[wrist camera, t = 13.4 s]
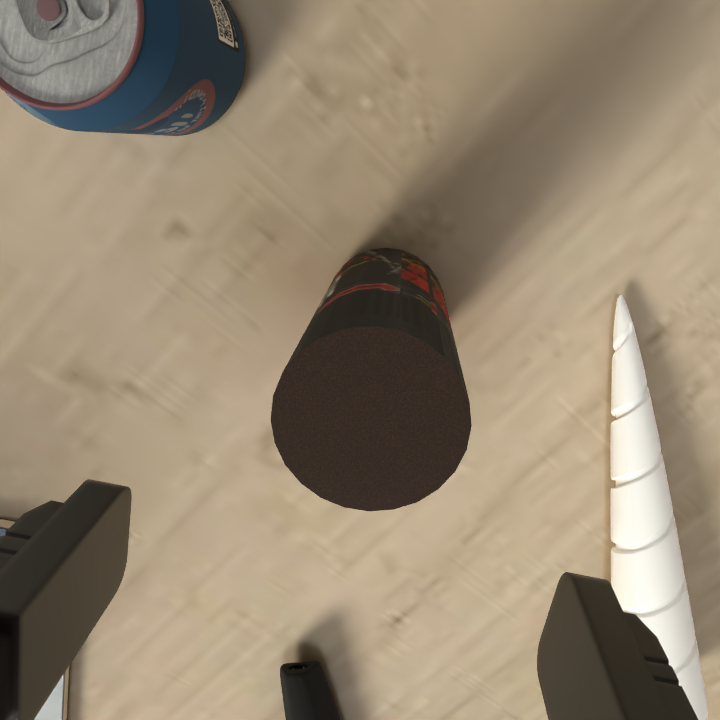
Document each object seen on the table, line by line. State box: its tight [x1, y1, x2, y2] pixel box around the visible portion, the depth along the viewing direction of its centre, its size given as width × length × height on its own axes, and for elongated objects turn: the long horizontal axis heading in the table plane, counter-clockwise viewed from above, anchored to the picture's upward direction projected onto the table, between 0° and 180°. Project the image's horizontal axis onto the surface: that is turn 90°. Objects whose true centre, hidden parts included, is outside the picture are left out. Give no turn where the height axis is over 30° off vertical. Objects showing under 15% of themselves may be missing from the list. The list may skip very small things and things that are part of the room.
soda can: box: [0, 0, 245, 136], centre depth 25 cm, size 7×7×12 cm
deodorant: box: [271, 248, 471, 511], centre depth 27 cm, size 6×6×15 cm
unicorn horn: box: [611, 295, 708, 720], centre depth 34 cm, size 5×24×5 cm, turn 7°
